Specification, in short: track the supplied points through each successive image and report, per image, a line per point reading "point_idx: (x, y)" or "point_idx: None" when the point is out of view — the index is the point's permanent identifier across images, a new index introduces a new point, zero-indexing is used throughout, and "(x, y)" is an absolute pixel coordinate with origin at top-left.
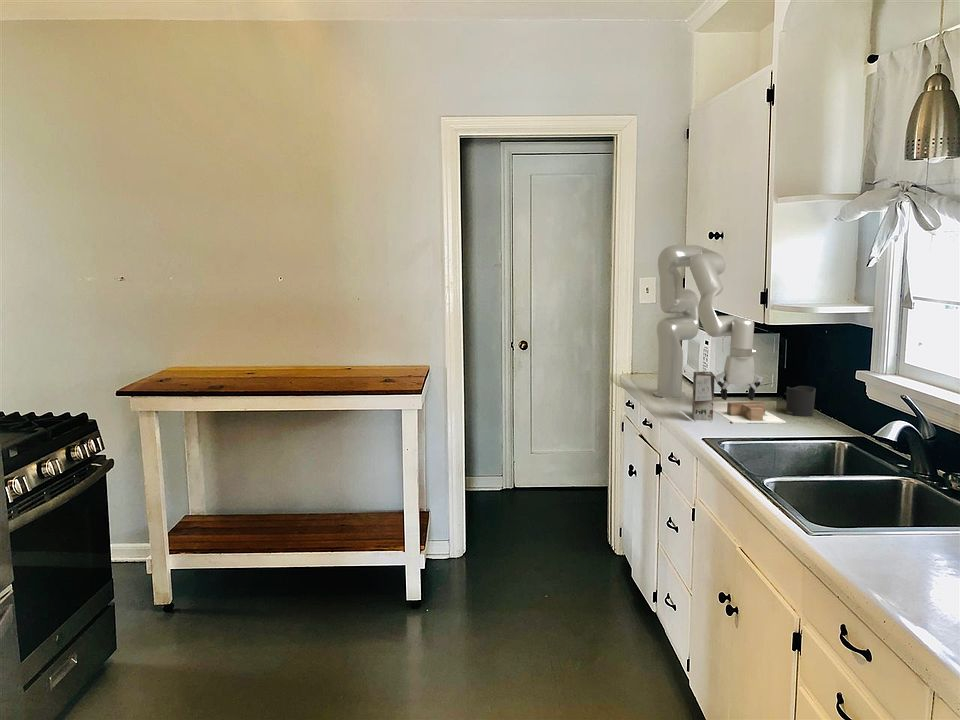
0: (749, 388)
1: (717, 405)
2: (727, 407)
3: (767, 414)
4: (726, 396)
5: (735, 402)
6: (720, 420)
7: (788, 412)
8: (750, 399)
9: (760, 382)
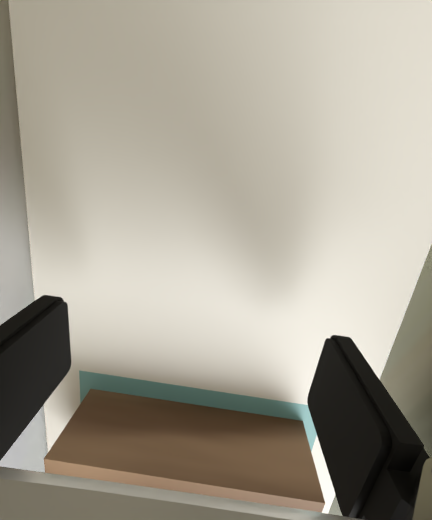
0: (386, 451)
1: (110, 132)
2: (69, 423)
3: (318, 456)
4: (48, 394)
5: (103, 478)
6: (23, 469)
7: None
8: (311, 391)
9: None
